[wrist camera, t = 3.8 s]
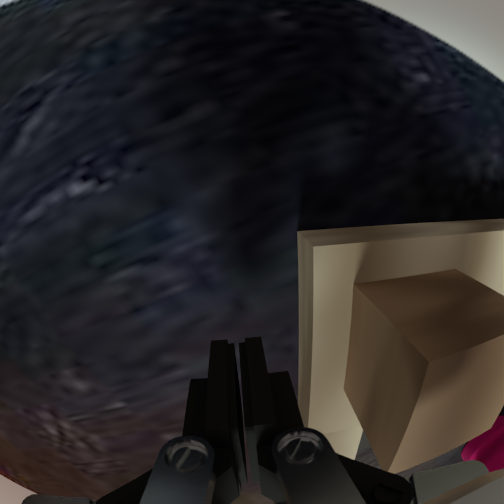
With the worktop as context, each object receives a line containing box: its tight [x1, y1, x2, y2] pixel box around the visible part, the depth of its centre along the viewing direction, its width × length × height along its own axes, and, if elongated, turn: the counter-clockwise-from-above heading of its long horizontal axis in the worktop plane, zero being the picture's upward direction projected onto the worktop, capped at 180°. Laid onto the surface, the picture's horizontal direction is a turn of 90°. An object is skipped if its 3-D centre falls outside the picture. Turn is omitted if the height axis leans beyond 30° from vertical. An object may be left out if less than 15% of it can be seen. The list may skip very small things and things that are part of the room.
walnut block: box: [344, 269, 504, 474], centre depth 9 cm, size 5×5×5 cm
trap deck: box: [297, 219, 504, 460], centre depth 14 cm, size 24×15×2 cm, turn 94°
